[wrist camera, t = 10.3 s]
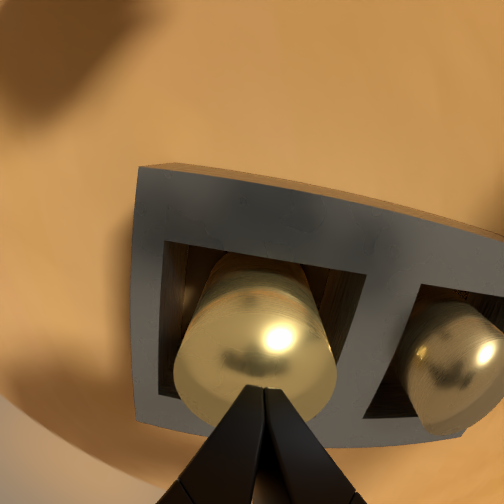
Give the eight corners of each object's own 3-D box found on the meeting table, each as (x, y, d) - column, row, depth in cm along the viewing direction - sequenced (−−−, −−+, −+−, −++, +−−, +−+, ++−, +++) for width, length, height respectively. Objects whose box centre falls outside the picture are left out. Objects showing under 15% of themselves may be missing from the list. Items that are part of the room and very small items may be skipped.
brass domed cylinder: (318, 253, 13) (358, 327, 7) (295, 342, 14) (310, 440, 9) (213, 236, 13) (177, 299, 7) (201, 327, 14) (172, 422, 8)
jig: (499, 234, 12) (550, 258, 9) (434, 392, 15) (460, 436, 12) (175, 162, 12) (138, 166, 8) (159, 366, 15) (136, 420, 11)
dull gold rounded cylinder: (461, 280, 13) (535, 340, 7) (431, 355, 14) (482, 428, 9) (390, 268, 13) (460, 337, 7) (362, 350, 14) (401, 440, 9)
